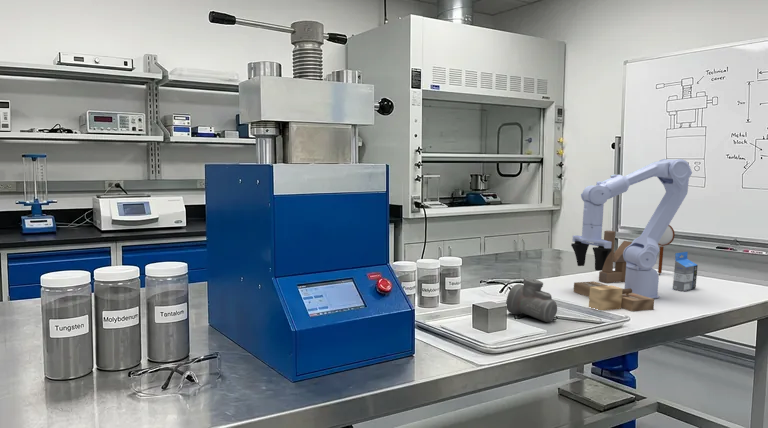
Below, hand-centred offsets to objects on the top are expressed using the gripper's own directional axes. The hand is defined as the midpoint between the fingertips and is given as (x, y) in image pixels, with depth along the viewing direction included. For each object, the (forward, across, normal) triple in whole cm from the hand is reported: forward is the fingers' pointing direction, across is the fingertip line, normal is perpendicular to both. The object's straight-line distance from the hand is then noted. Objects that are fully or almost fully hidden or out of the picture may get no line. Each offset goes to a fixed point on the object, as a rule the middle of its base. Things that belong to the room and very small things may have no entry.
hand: (589, 268), depth 173 cm
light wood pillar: (+9, +14, -4) cm, 17 cm away
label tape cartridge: (+9, +2, +40) cm, 41 cm away
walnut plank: (+9, +7, +3) cm, 11 cm away
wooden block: (+9, -14, +25) cm, 30 cm away
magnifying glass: (+9, -19, +52) cm, 56 cm away
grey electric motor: (+9, +16, -34) cm, 38 cm away
